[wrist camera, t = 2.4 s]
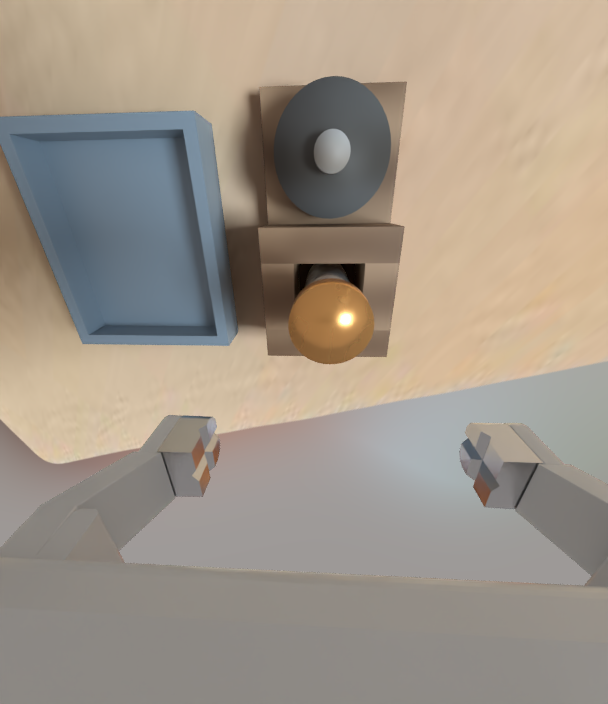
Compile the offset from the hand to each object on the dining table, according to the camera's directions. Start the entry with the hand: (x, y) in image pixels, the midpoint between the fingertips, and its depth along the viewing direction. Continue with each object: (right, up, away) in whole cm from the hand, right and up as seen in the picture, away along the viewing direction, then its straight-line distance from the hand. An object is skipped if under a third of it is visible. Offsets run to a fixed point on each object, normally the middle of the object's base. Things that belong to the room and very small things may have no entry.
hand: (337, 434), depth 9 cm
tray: (-16, +13, +18) cm, 27 cm away
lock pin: (+1, +10, +18) cm, 21 cm away
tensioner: (+1, +14, +16) cm, 21 cm away
